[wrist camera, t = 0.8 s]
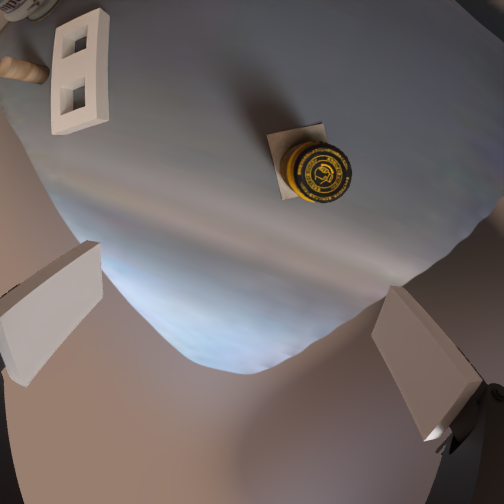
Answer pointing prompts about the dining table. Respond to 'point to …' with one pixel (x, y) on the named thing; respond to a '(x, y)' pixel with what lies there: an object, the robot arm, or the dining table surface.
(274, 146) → the condiment
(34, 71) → the dowel
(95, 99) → the hole block
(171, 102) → the dining table surface
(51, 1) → the apothecary jar
